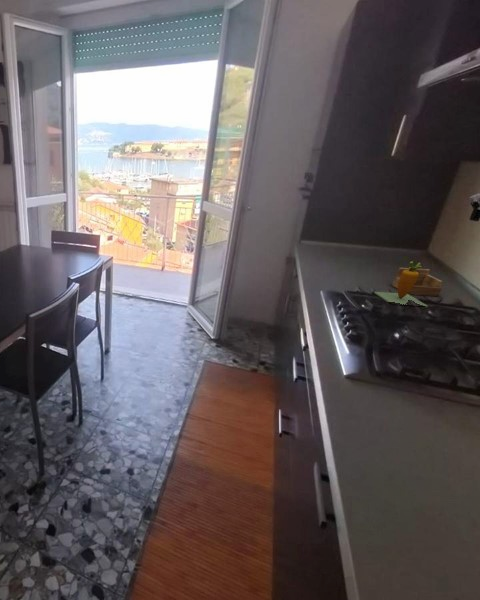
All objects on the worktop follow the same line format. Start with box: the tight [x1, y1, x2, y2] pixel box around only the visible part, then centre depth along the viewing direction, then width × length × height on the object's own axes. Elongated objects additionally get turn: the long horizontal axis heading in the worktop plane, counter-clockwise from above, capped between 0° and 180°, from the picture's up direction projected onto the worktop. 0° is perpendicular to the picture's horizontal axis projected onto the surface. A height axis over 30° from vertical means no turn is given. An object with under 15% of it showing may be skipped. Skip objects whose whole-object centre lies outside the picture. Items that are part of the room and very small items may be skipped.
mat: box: [373, 291, 429, 309], centre depth 138 cm, size 12×12×1 cm
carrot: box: [397, 261, 422, 299], centre depth 135 cm, size 5×5×15 cm
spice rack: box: [391, 267, 443, 297], centre depth 145 cm, size 10×11×8 cm
